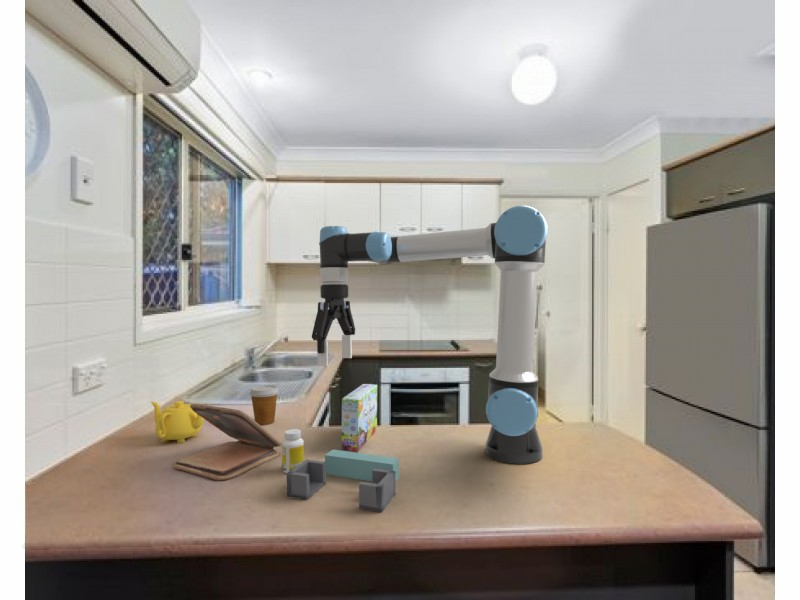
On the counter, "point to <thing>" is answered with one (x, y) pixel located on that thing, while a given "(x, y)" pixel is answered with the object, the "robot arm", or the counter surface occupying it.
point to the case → (230, 445)
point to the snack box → (358, 417)
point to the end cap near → (377, 491)
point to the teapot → (177, 422)
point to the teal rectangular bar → (358, 464)
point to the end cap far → (305, 479)
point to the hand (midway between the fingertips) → (335, 361)
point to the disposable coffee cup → (264, 403)
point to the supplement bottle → (292, 450)
